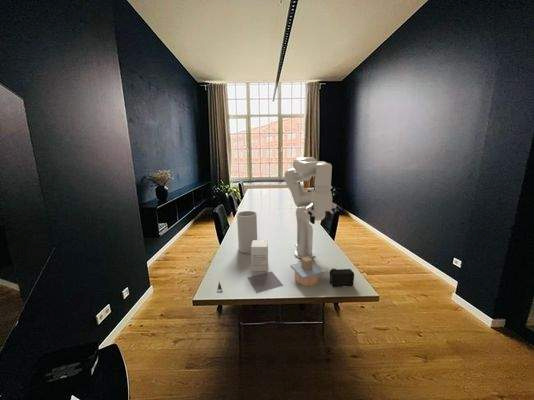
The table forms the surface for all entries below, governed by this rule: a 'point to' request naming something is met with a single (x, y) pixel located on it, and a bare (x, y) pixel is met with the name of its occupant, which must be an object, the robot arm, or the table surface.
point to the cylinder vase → (246, 230)
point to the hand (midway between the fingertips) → (320, 221)
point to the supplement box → (259, 255)
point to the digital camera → (341, 277)
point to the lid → (306, 268)
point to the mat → (264, 282)
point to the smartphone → (219, 288)
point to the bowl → (306, 280)
